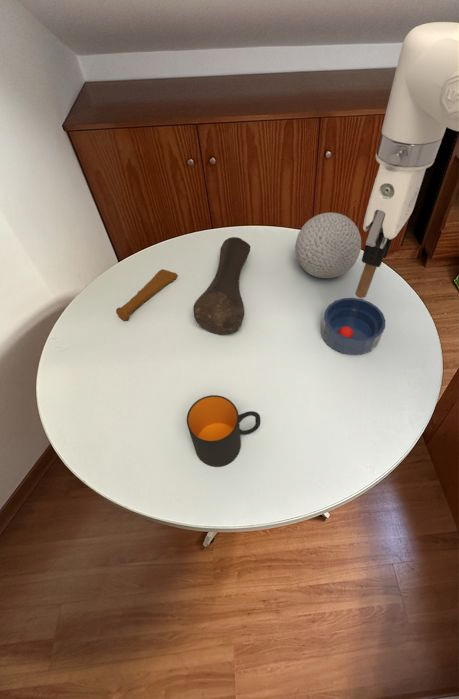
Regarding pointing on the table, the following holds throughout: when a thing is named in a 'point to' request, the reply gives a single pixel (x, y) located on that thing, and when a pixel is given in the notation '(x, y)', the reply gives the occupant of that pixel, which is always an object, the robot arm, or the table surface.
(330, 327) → the bowl
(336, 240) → the decorative ball
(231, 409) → the mug
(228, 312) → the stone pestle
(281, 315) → the table surface
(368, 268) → the stick
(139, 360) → the table surface
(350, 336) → the ball
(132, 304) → the primitive tool
